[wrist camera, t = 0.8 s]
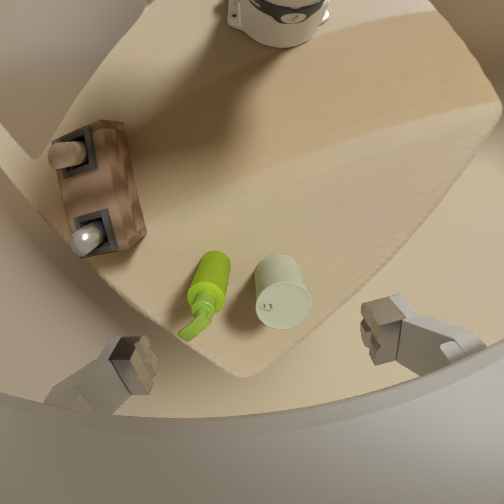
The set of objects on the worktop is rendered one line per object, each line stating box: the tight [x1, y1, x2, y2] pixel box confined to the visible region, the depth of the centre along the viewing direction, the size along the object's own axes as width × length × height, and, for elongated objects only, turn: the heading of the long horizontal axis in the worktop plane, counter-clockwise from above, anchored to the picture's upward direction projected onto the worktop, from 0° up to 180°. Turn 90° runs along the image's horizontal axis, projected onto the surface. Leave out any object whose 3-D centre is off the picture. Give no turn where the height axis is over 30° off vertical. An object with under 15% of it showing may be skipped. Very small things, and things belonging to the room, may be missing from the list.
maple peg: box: [48, 141, 89, 169], centre depth 36 cm, size 4×4×8 cm
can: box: [254, 254, 311, 329], centre depth 50 cm, size 9×9×12 cm
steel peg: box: [69, 218, 108, 256], centre depth 41 cm, size 4×4×8 cm
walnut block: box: [52, 120, 147, 258], centre depth 44 cm, size 22×11×10 cm, turn 9°
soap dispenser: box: [177, 251, 230, 342], centre depth 46 cm, size 6×7×20 cm
